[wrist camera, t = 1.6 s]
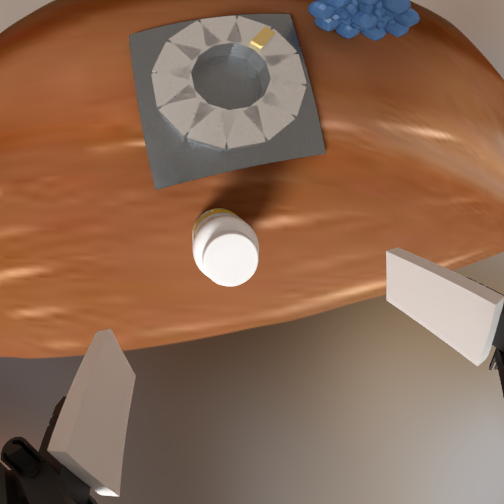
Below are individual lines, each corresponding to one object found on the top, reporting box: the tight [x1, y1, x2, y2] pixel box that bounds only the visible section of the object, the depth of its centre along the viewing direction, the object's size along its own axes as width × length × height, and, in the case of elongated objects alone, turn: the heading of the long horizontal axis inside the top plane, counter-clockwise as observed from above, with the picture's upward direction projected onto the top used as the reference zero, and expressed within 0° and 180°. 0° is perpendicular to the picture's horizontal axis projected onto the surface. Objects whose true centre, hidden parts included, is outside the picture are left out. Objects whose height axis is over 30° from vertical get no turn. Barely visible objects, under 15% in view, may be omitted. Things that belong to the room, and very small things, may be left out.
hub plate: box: [129, 14, 326, 190], centre depth 22 cm, size 18×18×5 cm
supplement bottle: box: [192, 208, 259, 286], centre depth 24 cm, size 5×5×10 cm
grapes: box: [308, 0, 420, 41], centre depth 19 cm, size 12×7×12 cm, turn 88°
